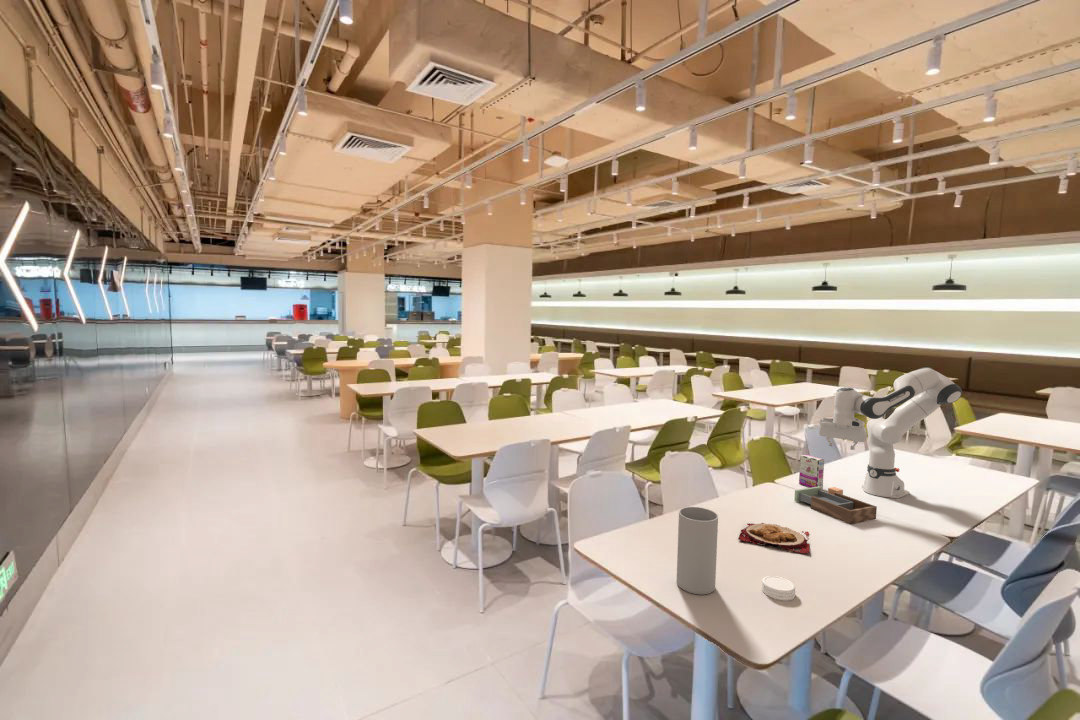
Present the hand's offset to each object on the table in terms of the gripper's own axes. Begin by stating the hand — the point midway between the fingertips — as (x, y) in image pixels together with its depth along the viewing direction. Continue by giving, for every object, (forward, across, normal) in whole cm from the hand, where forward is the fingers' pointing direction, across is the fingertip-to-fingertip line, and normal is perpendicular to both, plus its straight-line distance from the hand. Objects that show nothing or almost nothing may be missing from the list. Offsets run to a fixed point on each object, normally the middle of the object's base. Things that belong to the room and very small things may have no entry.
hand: (841, 447), depth 247 cm
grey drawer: (+27, -3, -13) cm, 30 cm away
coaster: (+29, +7, -111) cm, 115 cm away
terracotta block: (+27, -1, 0) cm, 27 cm away
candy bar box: (+28, -16, +15) cm, 35 cm away
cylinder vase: (+29, -15, -126) cm, 130 cm away
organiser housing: (+28, +6, -17) cm, 33 cm away
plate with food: (+29, -9, -67) cm, 73 cm away
